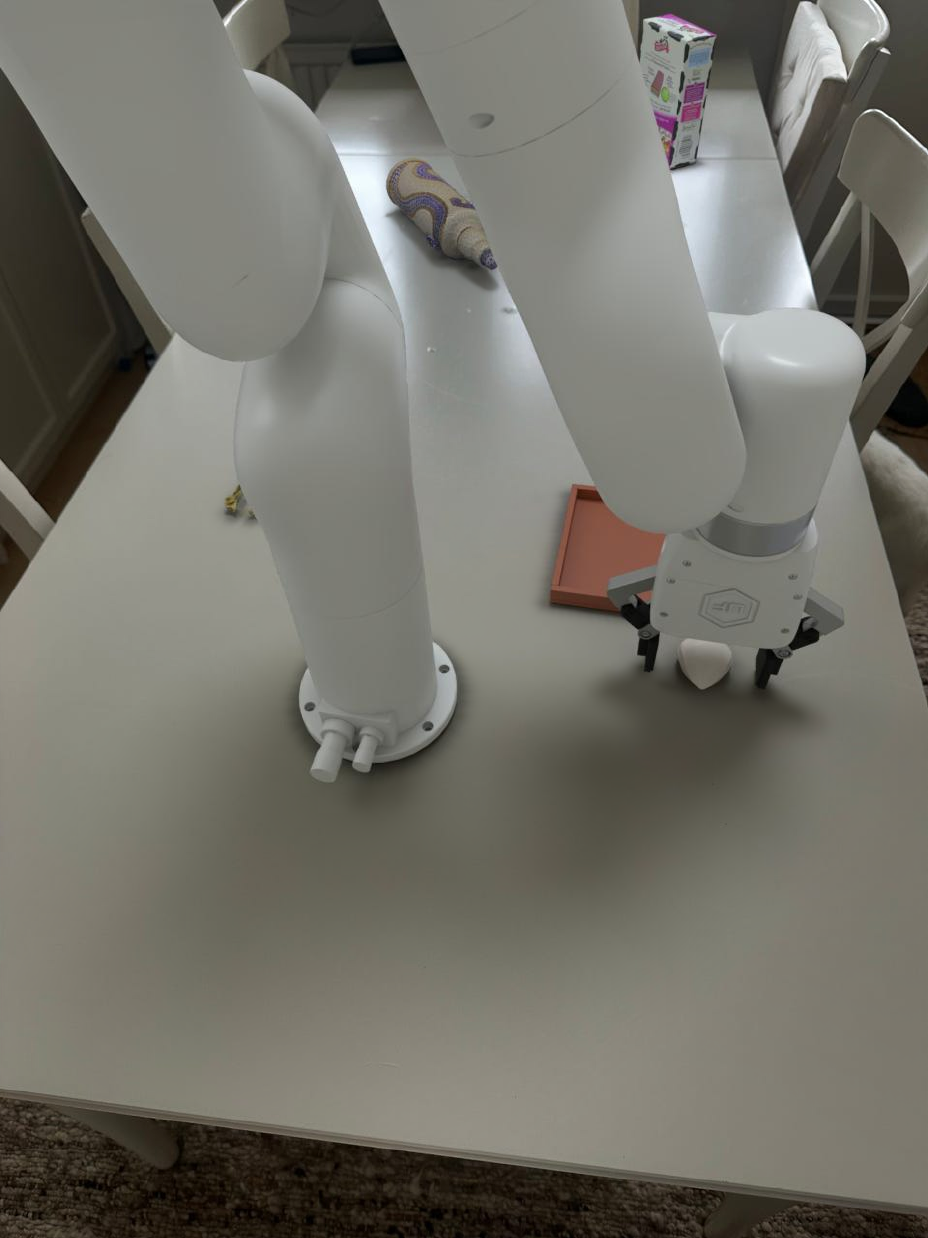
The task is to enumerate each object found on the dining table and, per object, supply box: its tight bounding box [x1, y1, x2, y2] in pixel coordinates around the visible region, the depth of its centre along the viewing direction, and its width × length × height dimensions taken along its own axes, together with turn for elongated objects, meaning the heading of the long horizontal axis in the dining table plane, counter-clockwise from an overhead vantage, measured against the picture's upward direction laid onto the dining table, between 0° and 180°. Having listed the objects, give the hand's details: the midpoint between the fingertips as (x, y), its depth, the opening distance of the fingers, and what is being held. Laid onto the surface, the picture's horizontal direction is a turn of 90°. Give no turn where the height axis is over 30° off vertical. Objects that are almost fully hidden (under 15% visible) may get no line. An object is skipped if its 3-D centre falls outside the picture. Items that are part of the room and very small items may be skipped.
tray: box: [549, 483, 666, 613], centre depth 77 cm, size 14×14×2 cm
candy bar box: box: [638, 13, 718, 170], centre depth 123 cm, size 11×5×16 cm, turn 25°
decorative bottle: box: [385, 157, 498, 271], centre depth 112 cm, size 26×8×7 cm, turn 26°
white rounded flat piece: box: [676, 638, 734, 690], centre depth 68 cm, size 4×5×2 cm
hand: (704, 665), depth 69 cm, fingers open, 8 cm apart
